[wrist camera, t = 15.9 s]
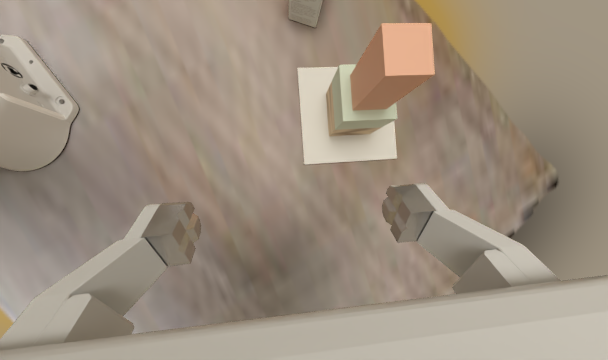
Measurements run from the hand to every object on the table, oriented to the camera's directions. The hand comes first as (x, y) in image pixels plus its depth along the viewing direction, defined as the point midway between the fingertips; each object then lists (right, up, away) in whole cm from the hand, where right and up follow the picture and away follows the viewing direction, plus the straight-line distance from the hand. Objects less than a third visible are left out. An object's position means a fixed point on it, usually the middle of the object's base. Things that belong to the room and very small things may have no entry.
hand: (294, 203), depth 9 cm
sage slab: (+9, +14, +26) cm, 31 cm away
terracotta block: (+10, +14, +21) cm, 27 cm away
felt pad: (+9, +14, +32) cm, 36 cm away
